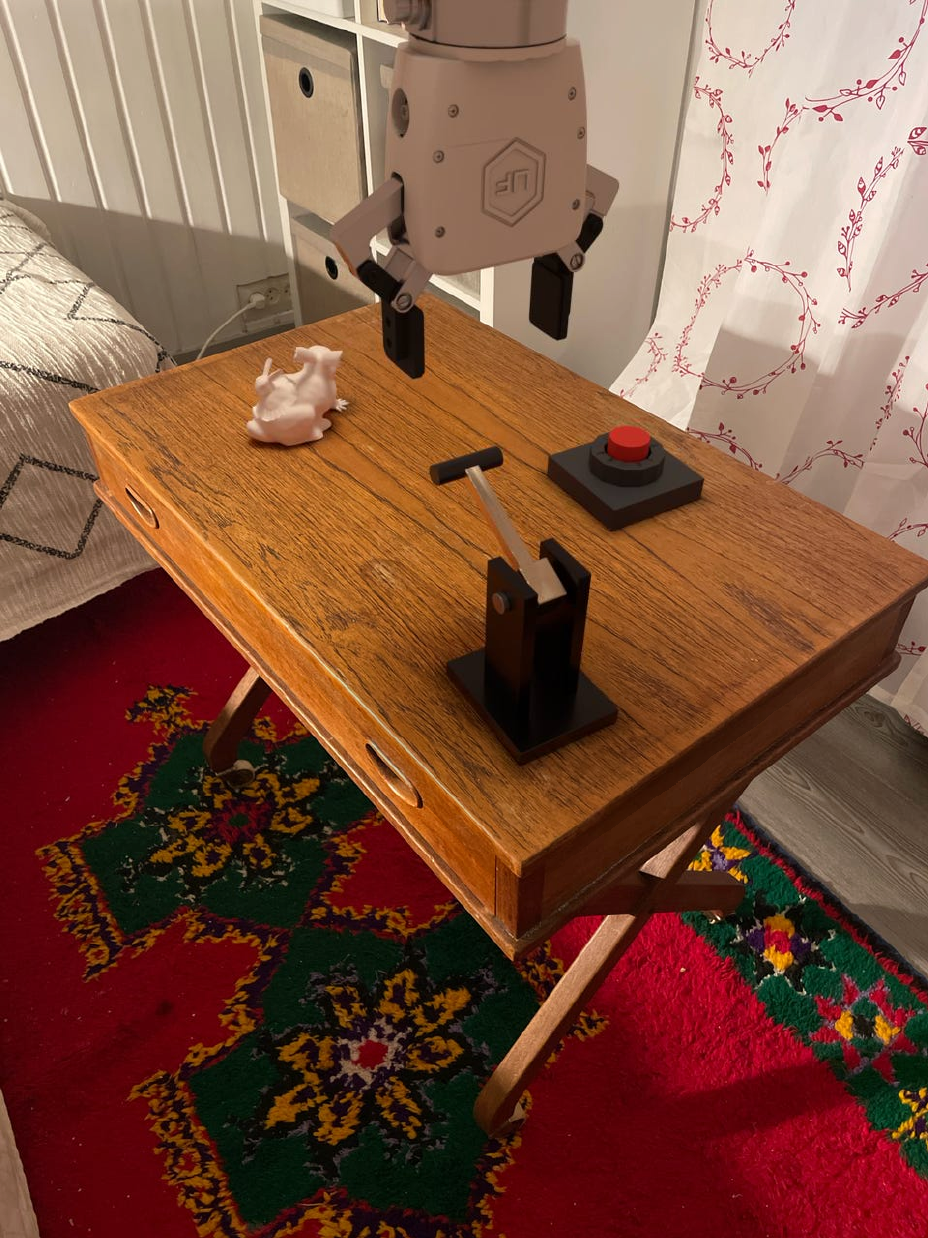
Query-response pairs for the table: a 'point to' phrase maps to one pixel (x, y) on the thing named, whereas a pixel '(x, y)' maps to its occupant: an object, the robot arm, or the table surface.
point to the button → (628, 444)
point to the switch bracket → (533, 662)
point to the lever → (501, 522)
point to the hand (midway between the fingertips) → (479, 349)
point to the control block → (624, 482)
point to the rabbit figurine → (297, 398)
